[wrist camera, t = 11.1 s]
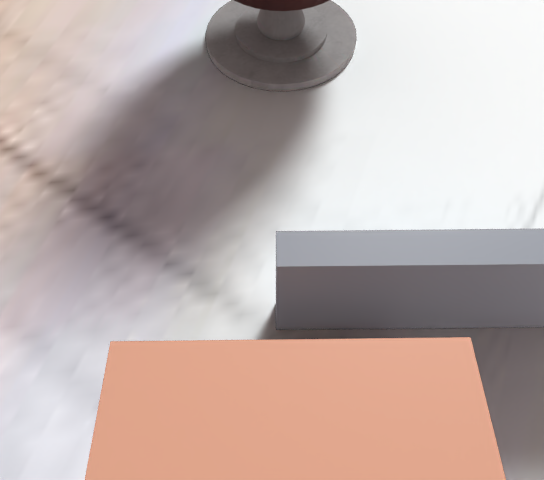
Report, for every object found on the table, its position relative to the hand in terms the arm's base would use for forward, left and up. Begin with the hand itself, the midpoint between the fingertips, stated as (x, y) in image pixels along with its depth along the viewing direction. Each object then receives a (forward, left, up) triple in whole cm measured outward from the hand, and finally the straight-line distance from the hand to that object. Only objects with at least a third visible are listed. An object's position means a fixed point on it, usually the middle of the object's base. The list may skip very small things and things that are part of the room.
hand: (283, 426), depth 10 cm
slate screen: (+8, +6, -10) cm, 15 cm away
